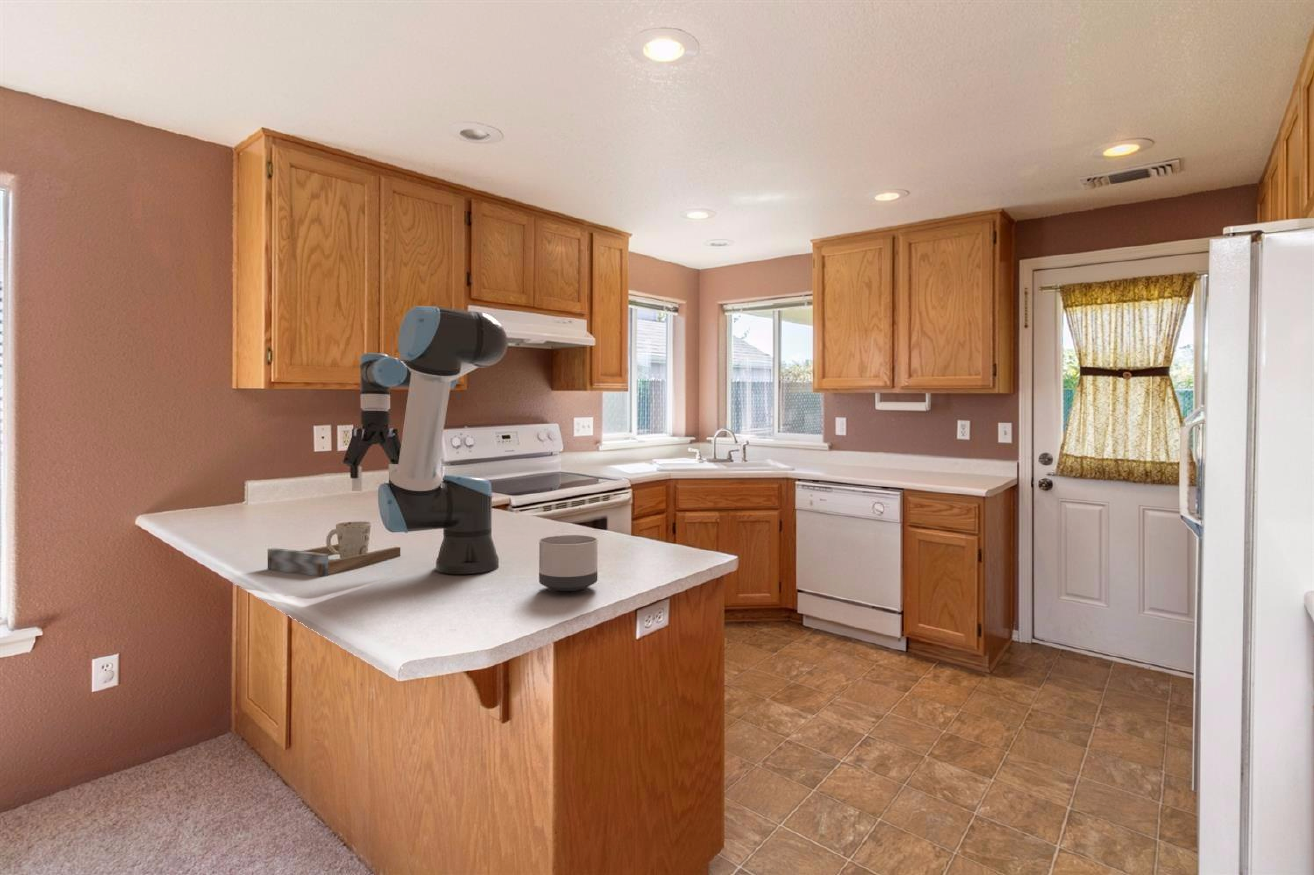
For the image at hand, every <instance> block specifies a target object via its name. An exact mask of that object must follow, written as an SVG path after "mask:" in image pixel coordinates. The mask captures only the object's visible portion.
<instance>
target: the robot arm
mask: <svg viewBox="0 0 1314 875" xmlns="http://www.w3.org/2000/svg"><path fill="white" fill-rule="evenodd" d="M397 341H398V343H397V344H398V345H397V352H398V354H399V356H400V357H401V358H397V357H394V356H390V355H388V354H386V353H379V352H378V353H377V352H376V353H375V352H367V353H363V354H361V355H360V362H359V363H360V364H359V369H360V370H359V371H360V376H359V377H360V378H359V379H360V409H361V412H360V424H361V425H362V427H361V428H360V427H359V428H352V429H351V438H350V440H349V443H348V445H347V449H346V452H345V455H344V458H343V460H342V463H343V464H344V465H347V467H349V472H350V475H349V476H350V479H351V491H353V492H354V491H356V492H363V489H362V487H363V485H362V480H363V478H362V477H363V474H362V468H363V467H362V466H361V465H360V464H361V462H362V460H363V459H364V457H365V456H366V454H367V452H368V450H369V448H370V447H371V446H373V445H379V446H381V448H382V450H383V451H384V453H385V455H386V457H387V459H388V460H389V462H390V463H389V464H388V482H384V483H380V485H379V487H378V489H377V503H378V510H379V515H380V519H381V522H382V524H383V526H384V528H385V529H386V530H387V531H388V532H390V533H406V534H407V533H409V532H411V533H412V532H421V531H430V530H433V531H434V530H441V529H442V530H443V534H442V535H443V536H442V538H443V539H442V542H441V544H440V547H439V551H438V554H437V555H438V556H437V557H436V561H435V571H437V572H438V573H441V574H447V575H448V574H449V575H470V574H480V573H487V572H490V571H491V572H492V571H494V570H496V569H498V568H499V563H500V562H499V560H500V558H499V555H498V553H497V550H496V547H495V543H494V540H493V537H492V530H493V529H492V526H493V525H492V524H493V522H492V519H493V518H492V516H493V513H492V512H493V508H492V507H493V505H492V504H493V500H492V499H493V494H492V493H493V492H492V483H491V481H490V480H488V479H486V478H484V477H473V476H465V475H457V474H456V475H454V474H444V475H443V478H442V477H441V476H440V474H438V466H439V459H440V453H441V447H442V442H443V436H444V429H445V422H446V417H447V411H448V410H447V409H448V404H449V398H450V391H451V390H452V389H455V388H456V386H457V384H458V382H459V378H461V377H463V376H465V375H466V374H468V373H471V372H472V371H474V370H476V369H478V368H483V369H484V368H490V367H492V366H494V365H495V364H497V363H498V362H501V360H502V359H503V358H504V357H505V354H506V353H507V349H508V343H509V342H508V335H507V332H506V331H505V329H504V327H503V325H502V324H501V323H500V322H499V321H498V320H497V319H496V318H494V317H492V316H491V315H489V314H487V313H484V312H481V311H475V310H474V311H471V310H465V309H464V310H462V309H456V308H449V307H448V308H447V307H442V306H441V307H440V306H435V305H430V306H427V305H426V306H425V305H416V306H415V305H414V306H413V307H411V308H410V309H409V310H408V311H407V312H406V313H405V315H404V316H403V318H402V320H401V324H400V327H399V331H398V336H397ZM391 388H403V389H404V388H408V392H407V400H406V407H405V408H406V409H405V414H404V422H403V429H402V437H401V441H400V438H399V432H398V431H399V429H398V428H389V425H390V424H391V412H390V411H389V410H390V409H391Z"/></svg>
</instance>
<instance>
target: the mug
mask: <svg viewBox="0 0 1314 875" xmlns="http://www.w3.org/2000/svg"><path fill="white" fill-rule="evenodd" d="M371 529H372V523H371V522H370V521H346V522H345V521H344V522H340V523H336V524H335V528H334V529H332V530H330V531H329V532H328V534H327V535H326V539H325V540H326V541H325V542H326V543H325V544H326V546H327V547H328V549H329V550H330V551H331V552H332V553H334V555H339V559H340V558H345V557H350V556H355V555H359V554H364V553H369V552H368V550H369V543H370V535H371ZM334 535H336V537H337V544H338V545H339V551H336V550H335V549H334V548H333V547H332V545H333V544H332V543H331V542H332V538H333V536H334Z"/></svg>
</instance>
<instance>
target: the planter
mask: <svg viewBox="0 0 1314 875" xmlns="http://www.w3.org/2000/svg"><path fill="white" fill-rule="evenodd" d="M598 547H599V546H598V538H597V537H595V536H591V535H584V534H583V535H581V534H563V535H561V534H560V535H550V536H545V537H541V538H540V539H539V540H538V548H539V549H538V582H539V584H540V585H542V586H544V587H546V588H549V589H551V590H553V591H558V592H574V591H582V590H583V589H586V588H589V587H590V586H592V585H594V584H596V583H598V582H597V581H598V570H599V569H598V564H599V563H598V562H599V560H598V556H599V555H598V554H599V553H598V549H599V548H598Z"/></svg>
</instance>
